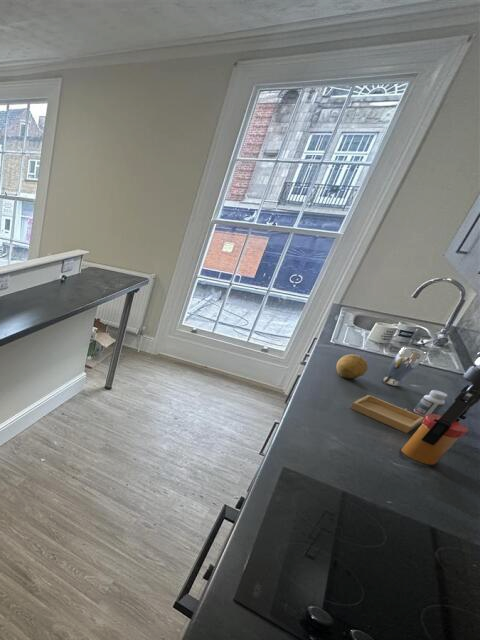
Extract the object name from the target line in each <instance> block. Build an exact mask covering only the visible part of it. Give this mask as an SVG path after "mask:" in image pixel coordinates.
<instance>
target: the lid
mask: <svg viewBox="0 0 480 640" xmlns="http://www.w3.org/2000/svg"><path fill="white" fill-rule="evenodd" d="M441 416H442V415H440V414H428V415H427V416H426V417H424V419H423V420H422V422H421V423H422V424H424V425H426V426H427V427H429V428H430V429H431V428H432V427H433V426H434V425H435V423H436V422H435V421H434V420H435V419H437V420H438V419H440V418H441ZM443 420H444V419H443ZM445 421H446V420H445ZM448 422H449V421H448ZM469 430H470V429H469V428H468V427H467V426H466V425H465V424H463V423H461V422H460V421H458V422H457V421H455V422H454V423H453V424H452V426H451V427H450V428H449V429H448V431H447V432H446V433H445V434H444V435H447V436H451V437H457V438H459V439H460V438H461V439H462V438H464V437H465V436H466V435H467V434H468V432H469Z"/></svg>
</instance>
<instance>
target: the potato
mask: <svg viewBox="0 0 480 640" xmlns="http://www.w3.org/2000/svg"><path fill="white" fill-rule="evenodd" d="M335 366H336V371H337V373H338V375H339V376H341V377H342V378H344V379H356V378H359V377H362V376H364V375H365V373H366V372H367V371H368V369H369V368H368V364H367V361H366V360H365V359H364V358H363V357H362V356H361V355H358V354H352V353H351V354H346V355H343V356H342V357H340V358H339V359H338V361H337V362H336V365H335Z"/></svg>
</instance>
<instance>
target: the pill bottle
mask: <svg viewBox="0 0 480 640" xmlns="http://www.w3.org/2000/svg"><path fill="white" fill-rule="evenodd" d="M447 397H448V394H447V393H445V392H443V391H440V390H437V389H432V390H431V391H430V392H429V394H425V395H424V396H423V397H422V398H421V400H419V402H418V403H417V404H416V406H415V407H414V408H413V413H414V414H417V415H419V416H422V417H424V418H425V417H426V416H427V415H428V414H436V415H438V413H439V412H440V410H441V409H442V407H444V405H445V403H446V401H445V400H446V399H447Z"/></svg>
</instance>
